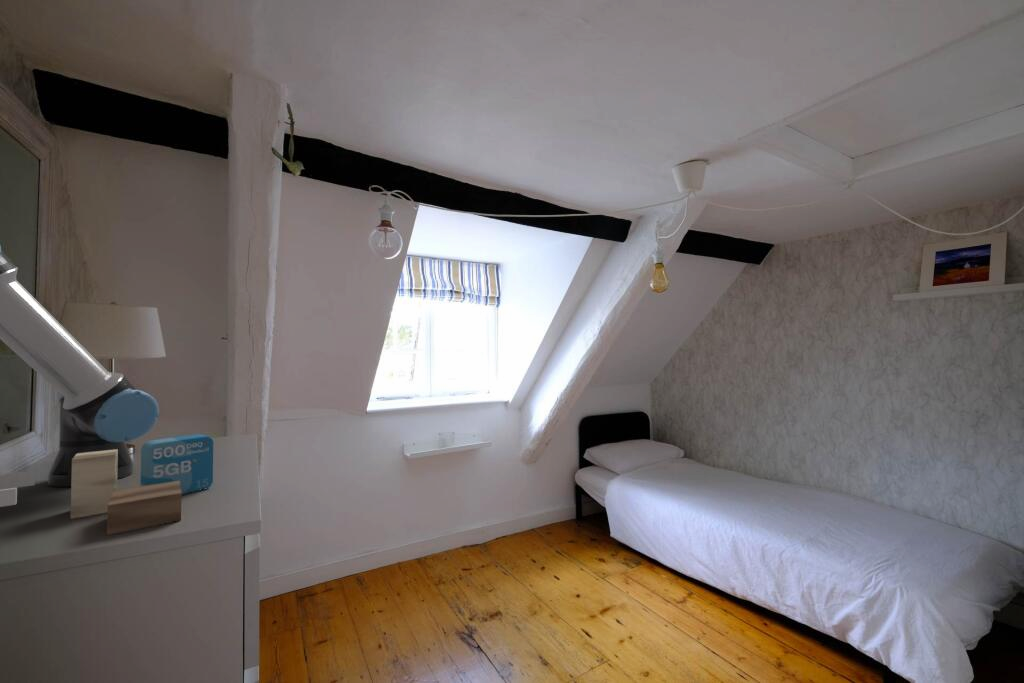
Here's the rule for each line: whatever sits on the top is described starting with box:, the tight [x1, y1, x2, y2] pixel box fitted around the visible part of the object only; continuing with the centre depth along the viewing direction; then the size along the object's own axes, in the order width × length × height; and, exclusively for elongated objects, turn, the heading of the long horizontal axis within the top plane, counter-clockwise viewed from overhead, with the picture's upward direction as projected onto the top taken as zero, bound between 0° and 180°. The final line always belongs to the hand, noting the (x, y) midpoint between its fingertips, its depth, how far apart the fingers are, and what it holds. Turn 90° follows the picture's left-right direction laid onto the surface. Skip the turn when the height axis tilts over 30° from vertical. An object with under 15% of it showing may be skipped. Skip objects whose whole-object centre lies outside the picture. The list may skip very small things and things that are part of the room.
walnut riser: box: [106, 481, 182, 536], centre depth 81 cm, size 10×10×5 cm
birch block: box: [70, 449, 118, 520], centre depth 85 cm, size 6×6×11 cm
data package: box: [140, 433, 214, 495], centre depth 96 cm, size 12×4×12 cm, turn 144°
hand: (26, 486), depth 80 cm, fingers open, 13 cm apart
